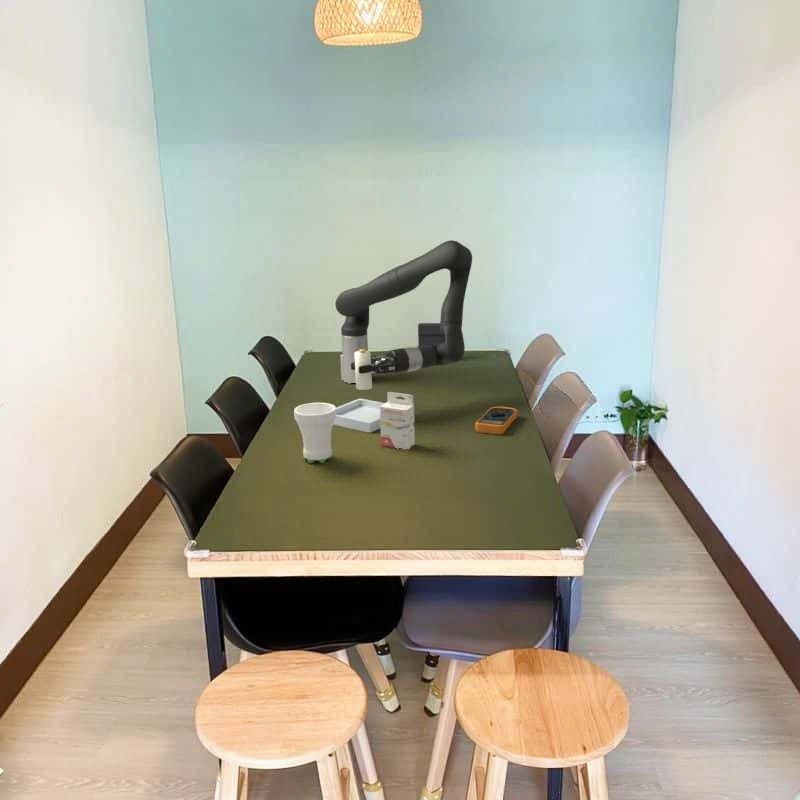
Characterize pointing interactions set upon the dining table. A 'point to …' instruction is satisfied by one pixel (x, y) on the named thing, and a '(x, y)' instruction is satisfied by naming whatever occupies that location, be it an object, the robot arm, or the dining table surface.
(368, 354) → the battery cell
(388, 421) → the ink cartridge box
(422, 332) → the dark grey box
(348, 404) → the pale blue square tray
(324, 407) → the cup
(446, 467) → the dining table surface
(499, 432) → the multimeter
